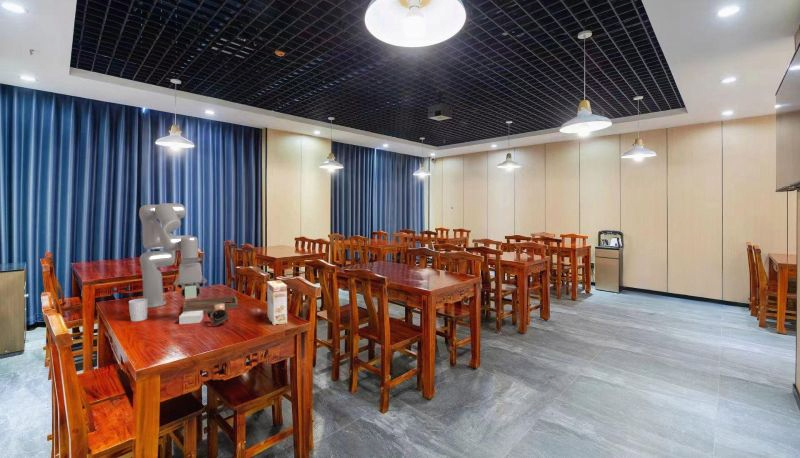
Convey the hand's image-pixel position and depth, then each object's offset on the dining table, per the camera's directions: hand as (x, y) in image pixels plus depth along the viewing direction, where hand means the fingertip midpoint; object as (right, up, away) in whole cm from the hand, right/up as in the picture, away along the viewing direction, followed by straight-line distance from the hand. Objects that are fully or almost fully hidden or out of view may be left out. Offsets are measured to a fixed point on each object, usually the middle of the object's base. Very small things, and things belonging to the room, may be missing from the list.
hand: (191, 296), depth 182 cm
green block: (0, -1, 0) cm, 1 cm away
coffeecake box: (+43, -13, +3) cm, 45 cm away
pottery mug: (+15, -14, -3) cm, 21 cm away
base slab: (0, -13, +1) cm, 13 cm away
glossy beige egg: (+8, -12, +13) cm, 20 cm away
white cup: (-28, -13, +2) cm, 31 cm away
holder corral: (-2, -11, +24) cm, 26 cm away
